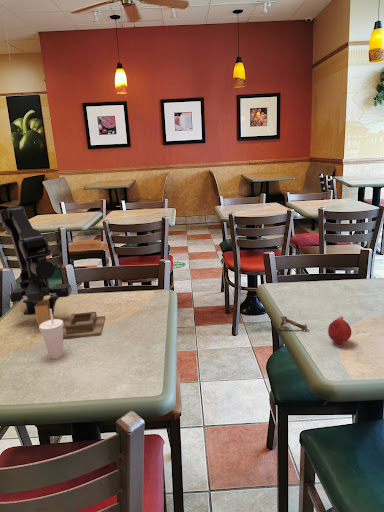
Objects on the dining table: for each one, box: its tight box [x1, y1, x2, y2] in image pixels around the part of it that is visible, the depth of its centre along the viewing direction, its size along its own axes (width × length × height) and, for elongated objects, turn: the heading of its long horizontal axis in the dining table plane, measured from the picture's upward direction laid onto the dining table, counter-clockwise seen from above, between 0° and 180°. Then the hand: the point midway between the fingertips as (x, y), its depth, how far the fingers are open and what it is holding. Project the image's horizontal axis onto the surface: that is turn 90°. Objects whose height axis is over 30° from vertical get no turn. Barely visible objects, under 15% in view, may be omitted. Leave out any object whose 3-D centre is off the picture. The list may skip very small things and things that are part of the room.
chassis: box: [63, 311, 106, 340], centre depth 126 cm, size 13×13×3 cm
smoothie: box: [38, 309, 64, 360], centre depth 108 cm, size 6×6×14 cm
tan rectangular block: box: [35, 298, 56, 327], centre depth 132 cm, size 6×4×7 cm, turn 6°
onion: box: [327, 315, 352, 345], centre depth 105 cm, size 6×6×8 cm
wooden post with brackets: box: [277, 315, 308, 331], centre depth 115 cm, size 2×8×4 cm, turn 80°
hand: (45, 316), depth 133 cm, fingers closed on tan rectangular block, 4 cm apart
